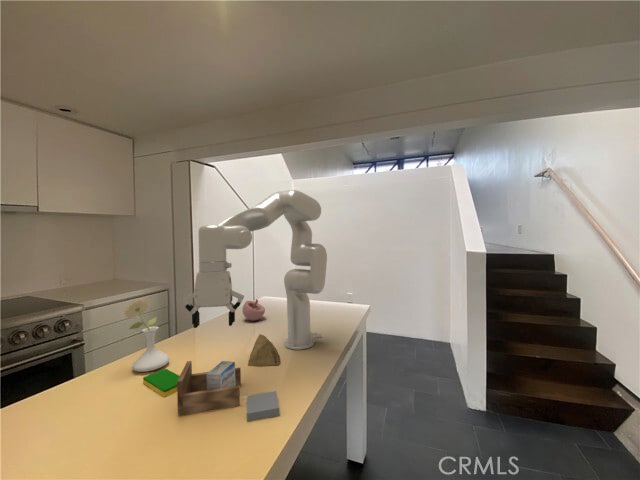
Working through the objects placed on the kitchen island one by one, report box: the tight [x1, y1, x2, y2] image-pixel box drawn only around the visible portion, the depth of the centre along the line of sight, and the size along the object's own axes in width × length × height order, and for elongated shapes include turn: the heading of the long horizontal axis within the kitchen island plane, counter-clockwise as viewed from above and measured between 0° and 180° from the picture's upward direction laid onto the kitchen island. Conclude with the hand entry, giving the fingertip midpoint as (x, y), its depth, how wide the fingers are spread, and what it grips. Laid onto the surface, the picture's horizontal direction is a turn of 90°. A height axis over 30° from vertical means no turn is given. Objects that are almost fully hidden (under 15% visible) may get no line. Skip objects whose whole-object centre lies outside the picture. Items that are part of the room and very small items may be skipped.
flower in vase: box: [123, 298, 170, 373], centre depth 97 cm, size 13×11×25 cm
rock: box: [247, 333, 281, 367], centre depth 98 cm, size 11×9×10 cm
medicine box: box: [207, 360, 236, 390], centre depth 79 cm, size 8×4×9 cm, turn 168°
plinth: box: [246, 390, 280, 422], centre depth 73 cm, size 8×8×2 cm
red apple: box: [242, 299, 266, 322], centre depth 150 cm, size 12×12×12 cm
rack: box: [176, 360, 242, 417], centre depth 78 cm, size 15×12×9 cm
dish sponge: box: [142, 368, 180, 398], centre depth 86 cm, size 7×14×2 cm, turn 55°
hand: (214, 325), depth 81 cm, fingers open, 9 cm apart
